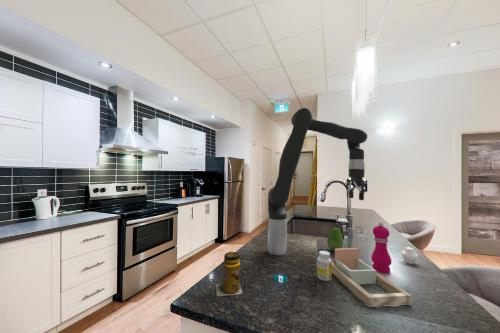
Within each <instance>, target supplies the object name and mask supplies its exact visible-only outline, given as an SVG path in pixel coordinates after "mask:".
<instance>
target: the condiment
mask: <svg viewBox="0 0 500 333" xmlns="http://www.w3.org/2000/svg"><path fill="white" fill-rule="evenodd" d="M223 257H224V258H223V262H222V283H216V284H215V291H216V297H217V298H218V297H225V296H234V295H242V294H243V290H242V286H241V261H240V254H239V253H238V252H236V251H229V252H226V253H225V254H224V255H223Z"/></svg>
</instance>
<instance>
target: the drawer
mask: <svg viewBox="0 0 500 333" xmlns="http://www.w3.org/2000/svg"><path fill="white" fill-rule="evenodd" d="M334 264H335V265H336V266H337V267H338V268H339V269H341V270H342V271H343V272H344V273H345V274H347V275H348V276H349V277H350V278H351V279H352V280H354V281H355V282H356V283H357V284H358V285H374V284H375V285H376V284H377V283H376V272H377V271H376V270H375V269H373V266H370V265H369V264H367V263H366V262H364V261H363V260H361V259H360V249H359V247H351V248H349V247H348V248H343V247H342V248H341V249H335V251H334Z"/></svg>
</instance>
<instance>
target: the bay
mask: <svg viewBox="0 0 500 333" xmlns="http://www.w3.org/2000/svg"><path fill="white" fill-rule="evenodd" d="M332 275H333V276H335V277H336V278H337V280H339V282H341V283H342V285H344V286H345V287H346V286H347V287H348V288H347V287H346V288H347V289H348V290H349V291H350V290H351V291H352V292H353V295H354V296H355V297H357V299H358V300H360V299H361V300H362V301H363V302H364V303H365V304H366V305H367V306H384V305H409V304H410V305H409V306H412V294H410V293H408V292H407V291H406V290H404V289H402V288H401V287H399V286H398V285H396V284H395V283H394V282H392V281H390V280H389V279H388V278H386V277H385V276H383V275H381V273H379V272H377V271H376V284H377V285H378V286H380V287H381V288H383V289H384V290H385V291H386V290H387V291H386V292H388V293H372V294H370V293H369V292H367V291H366V290H365V289H364V288H363V287H362V286H361V285H360V284H357V283H356V282H355V281H354V280H352V279H351V278H350V277H349V276H348V275H347V274H345V273H344V272H343V271H342V270H341V269H339V268H338V267H337V266H336V265H335V262H332ZM351 291H350V292H351ZM352 292H351V293H352ZM361 300H360V301H361ZM362 301H361V302H362ZM363 302H362V303H363ZM364 303H363V304H364ZM365 304H364V305H365ZM366 305H365V306H366ZM367 306H366V307H367Z"/></svg>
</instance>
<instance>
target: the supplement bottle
mask: <svg viewBox="0 0 500 333" xmlns="http://www.w3.org/2000/svg"><path fill="white" fill-rule="evenodd" d="M318 255H319V256H318V257H317V259H316V272H317V274H316V276H317V278H318V279H319V280H321V281H326V282H327V281H329V282H330V281H331V280H332V278H333V277H332V275H333V273H332V263H333V260H332V259H331V252H329V251H326V250H319V252H318Z"/></svg>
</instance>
